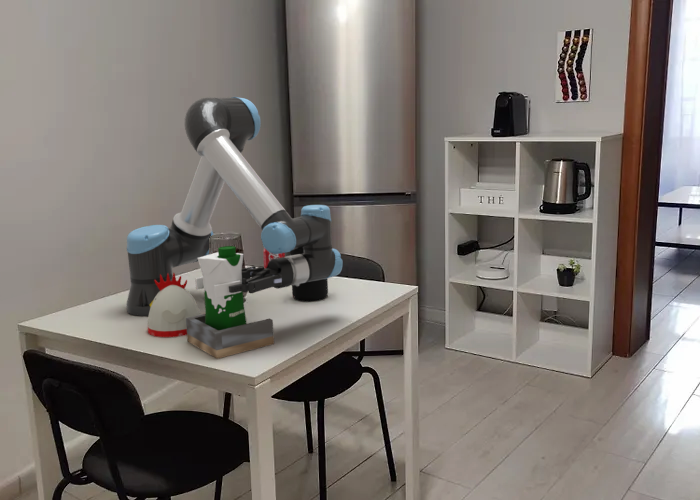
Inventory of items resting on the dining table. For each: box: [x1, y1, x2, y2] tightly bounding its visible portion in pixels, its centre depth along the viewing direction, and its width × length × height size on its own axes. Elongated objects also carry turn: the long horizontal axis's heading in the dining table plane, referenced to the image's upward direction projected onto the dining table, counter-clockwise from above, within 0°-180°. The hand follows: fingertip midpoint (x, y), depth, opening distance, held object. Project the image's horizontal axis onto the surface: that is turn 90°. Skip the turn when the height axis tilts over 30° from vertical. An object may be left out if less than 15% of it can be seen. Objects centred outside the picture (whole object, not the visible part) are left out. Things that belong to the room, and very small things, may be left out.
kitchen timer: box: [147, 272, 202, 338], centre depth 179 cm, size 14×14×15 cm
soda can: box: [262, 247, 286, 268], centre depth 226 cm, size 7×7×12 cm
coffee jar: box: [289, 247, 329, 302], centre depth 204 cm, size 11×11×18 cm
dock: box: [186, 313, 275, 359], centre depth 167 cm, size 16×15×6 cm
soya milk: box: [198, 245, 247, 331], centre depth 164 cm, size 9×9×20 cm
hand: (205, 287), depth 161 cm, fingers closed on soya milk, 9 cm apart
